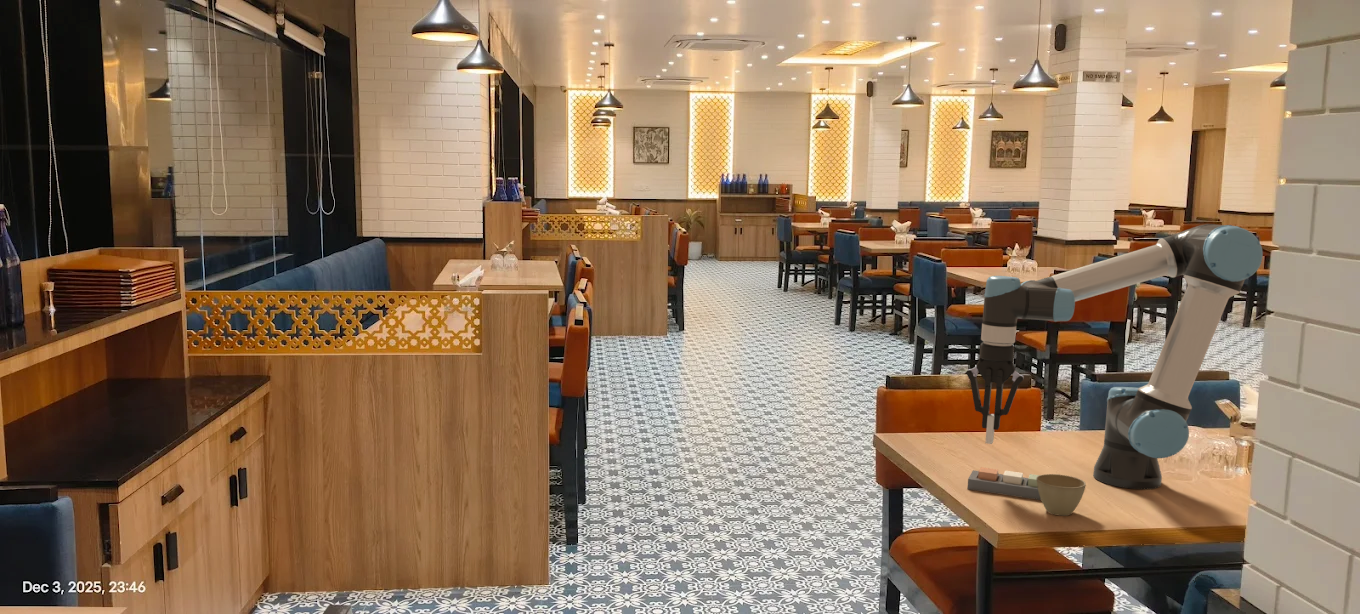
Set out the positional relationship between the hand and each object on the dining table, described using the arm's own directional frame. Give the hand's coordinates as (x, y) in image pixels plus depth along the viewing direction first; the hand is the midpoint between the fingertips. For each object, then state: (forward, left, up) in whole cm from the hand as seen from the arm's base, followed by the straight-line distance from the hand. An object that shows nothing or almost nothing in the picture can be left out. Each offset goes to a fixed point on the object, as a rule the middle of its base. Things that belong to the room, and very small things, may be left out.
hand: (989, 442), depth 228 cm
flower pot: (-17, +11, -11) cm, 23 cm away
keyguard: (-6, 0, -11) cm, 12 cm away
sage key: (-11, 0, -9) cm, 15 cm away
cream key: (-6, 0, -9) cm, 11 cm away
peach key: (0, 0, -9) cm, 9 cm away
